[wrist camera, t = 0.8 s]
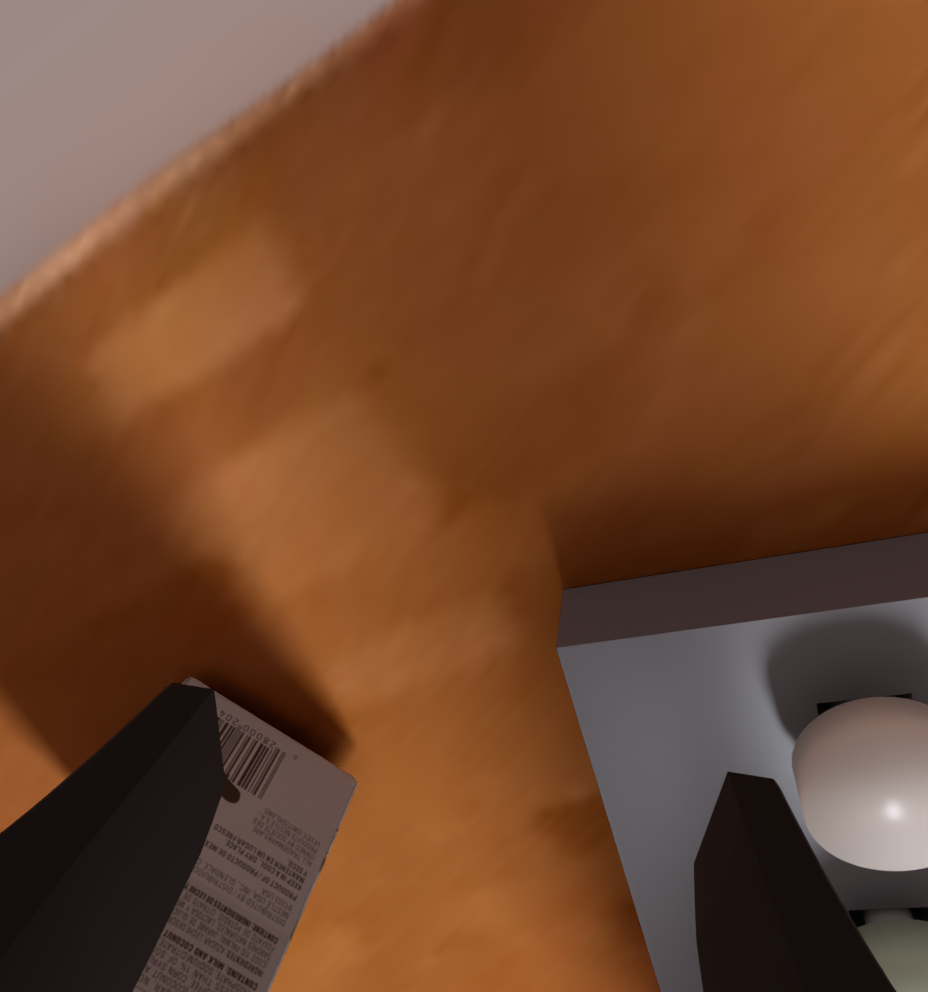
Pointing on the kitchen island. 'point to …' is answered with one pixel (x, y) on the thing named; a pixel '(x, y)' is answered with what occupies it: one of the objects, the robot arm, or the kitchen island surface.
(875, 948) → the sage button
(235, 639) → the kitchen island surface
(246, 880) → the coffee box
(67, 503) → the kitchen island surface
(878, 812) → the cream button
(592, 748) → the button panel
